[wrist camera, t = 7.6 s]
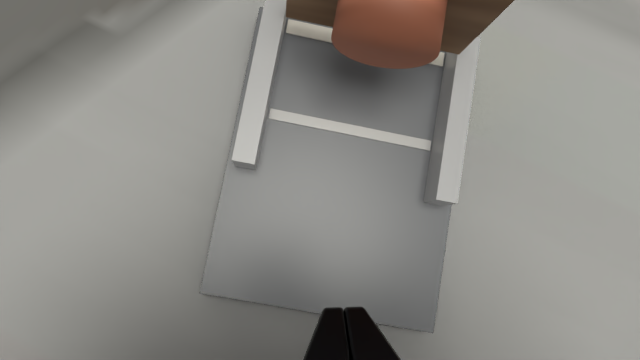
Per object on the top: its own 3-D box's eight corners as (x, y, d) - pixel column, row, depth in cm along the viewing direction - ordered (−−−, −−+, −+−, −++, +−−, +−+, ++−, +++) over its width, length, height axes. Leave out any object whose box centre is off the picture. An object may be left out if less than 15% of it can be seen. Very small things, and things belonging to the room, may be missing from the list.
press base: (425, 328, 23) (447, 341, 20) (203, 290, 22) (192, 298, 19) (463, 61, 25) (489, 38, 22) (260, 18, 24) (258, -13, 21)
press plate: (453, 96, 21) (550, 20, 14) (277, 59, 20) (278, -42, 13) (461, 38, 21) (560, -68, 14) (289, 0, 21) (296, -131, 13)
